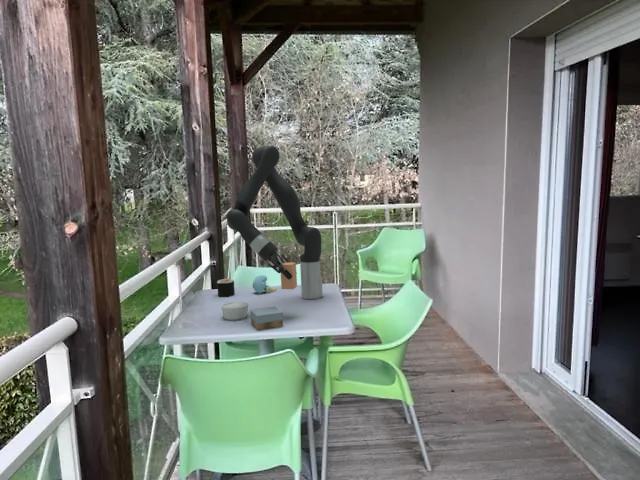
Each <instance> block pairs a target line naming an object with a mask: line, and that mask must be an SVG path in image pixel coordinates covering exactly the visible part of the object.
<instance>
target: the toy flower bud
mask: <svg viewBox="0 0 640 480" xmlns="http://www.w3.org/2000/svg"><path fill="white" fill-rule="evenodd" d="M267 280H268V277H267V276H266V275H258V276H255V278H254V280H253V282H252V288H253V290H254V291H255V292H256V293H257V294H259V295H260V294H262V293H263V292H265V293H266V294H268V293H270V292H275V291H277V290H278V289H277V287H275V288H271V287H270V285H268V284H267V282H266V281H267Z"/></svg>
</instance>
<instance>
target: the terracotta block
mask: <svg viewBox="0 0 640 480" xmlns="http://www.w3.org/2000/svg"><path fill="white" fill-rule="evenodd" d="M283 264H284V265H283V266H284V267H285V268H286V270H287V271H288V272H289V273H290V274H291V275H292V278H291V279H290V280H289V279H287V278H286V277H285V276H284V275H283V273H282V274H281V273H280V283H281V284H280V286H281V290H294V289H296V288H297V287H298V282H297V281H298V280H297V278H298V277H297V274H296V272H297V262H290V263H285V262H284V263H283Z"/></svg>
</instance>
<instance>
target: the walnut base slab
mask: <svg viewBox="0 0 640 480" xmlns="http://www.w3.org/2000/svg"><path fill="white" fill-rule="evenodd" d="M250 320H251V321H250V322H251V325H252V326H253V327H254V328H255V329H256V331H263V330H268V329H269V328H270V329H276V328H275V327H277V328H282V327H281V326H283V327H284V321H283V320H280V321H273V322H266V323H259V324H257V323H256V322H255V321H254V320H253V319H252V318H251V317H250Z"/></svg>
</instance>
